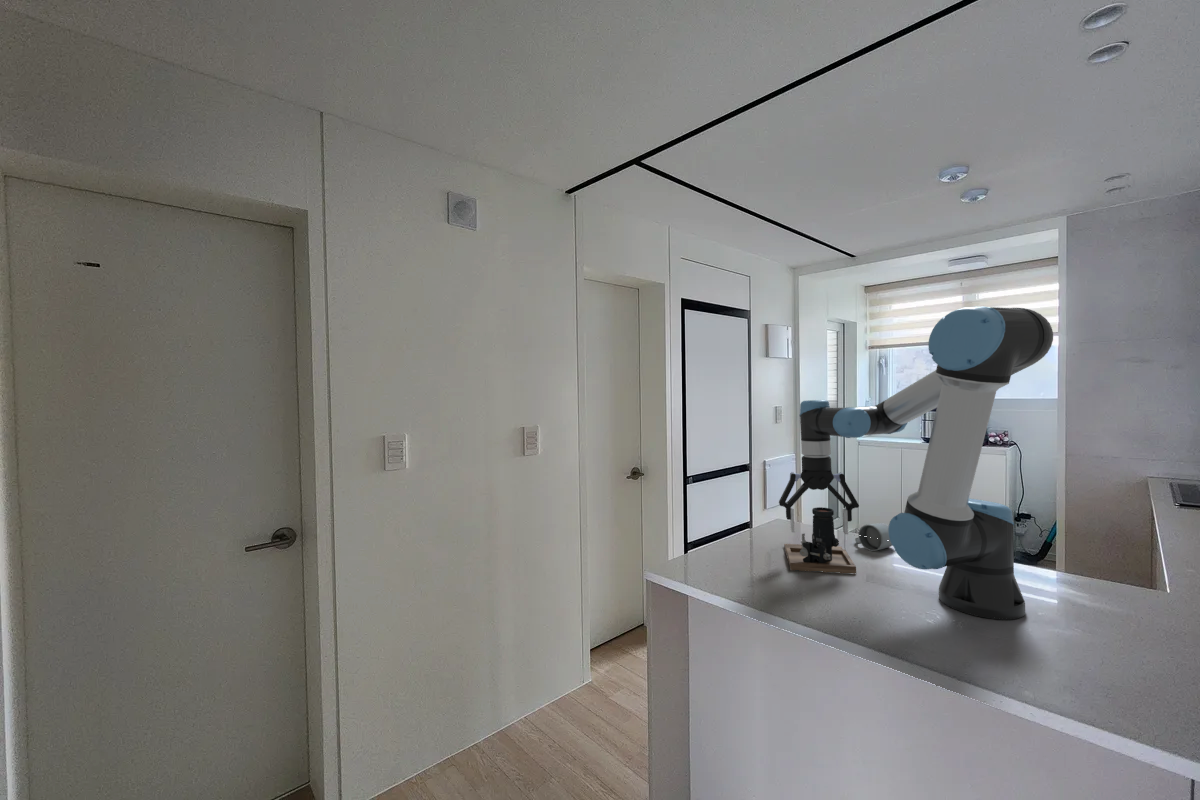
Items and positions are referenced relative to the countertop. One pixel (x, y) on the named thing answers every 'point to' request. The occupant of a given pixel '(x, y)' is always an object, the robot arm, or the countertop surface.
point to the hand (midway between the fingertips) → (818, 532)
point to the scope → (820, 537)
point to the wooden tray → (838, 564)
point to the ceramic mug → (874, 536)
